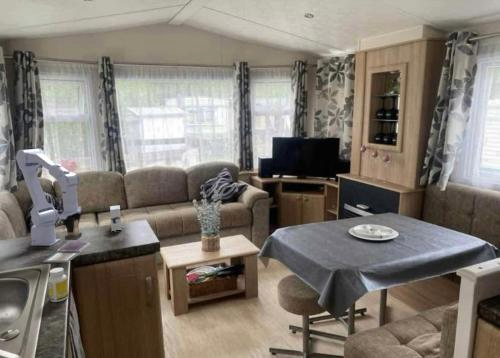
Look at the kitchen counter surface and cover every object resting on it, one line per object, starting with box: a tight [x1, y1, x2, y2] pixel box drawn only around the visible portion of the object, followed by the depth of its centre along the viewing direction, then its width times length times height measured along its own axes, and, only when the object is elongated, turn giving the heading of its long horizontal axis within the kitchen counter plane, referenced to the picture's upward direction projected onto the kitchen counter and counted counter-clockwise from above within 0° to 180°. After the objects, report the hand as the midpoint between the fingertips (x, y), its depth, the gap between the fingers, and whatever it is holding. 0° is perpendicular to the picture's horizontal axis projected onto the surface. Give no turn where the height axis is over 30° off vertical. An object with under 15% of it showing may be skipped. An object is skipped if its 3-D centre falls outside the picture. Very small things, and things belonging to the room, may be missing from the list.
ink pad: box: [56, 241, 91, 254], centre depth 165 cm, size 10×10×1 cm
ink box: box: [109, 204, 122, 232], centre depth 192 cm, size 8×5×12 cm, turn 21°
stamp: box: [64, 220, 83, 241], centre depth 163 cm, size 5×5×8 cm
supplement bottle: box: [47, 267, 69, 303], centre depth 119 cm, size 5×5×10 cm
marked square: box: [43, 251, 81, 263], centre depth 154 cm, size 10×10×1 cm
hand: (72, 230), depth 163 cm, fingers closed on stamp, 3 cm apart
